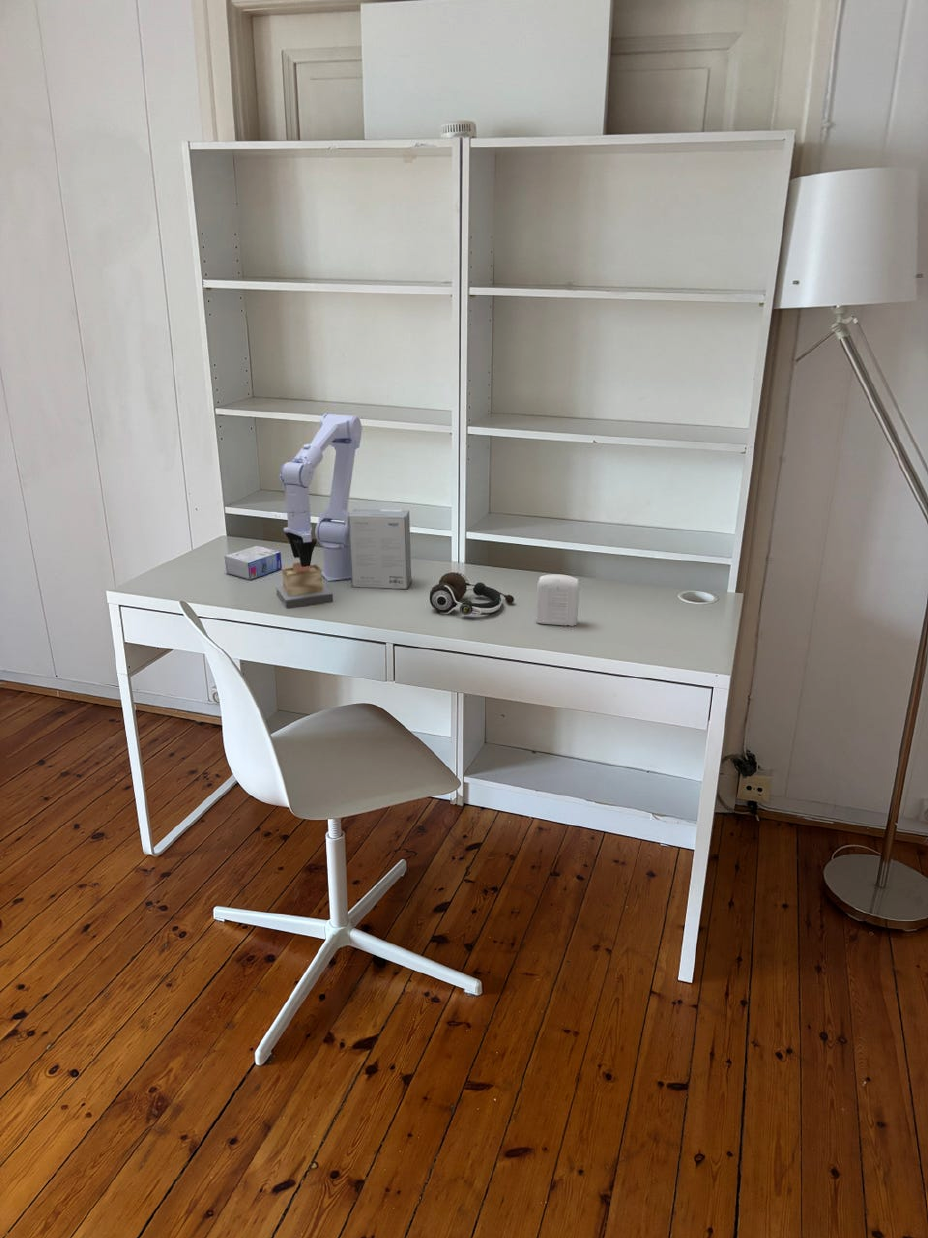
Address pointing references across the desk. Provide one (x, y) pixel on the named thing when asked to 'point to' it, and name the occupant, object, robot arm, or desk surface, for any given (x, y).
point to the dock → (305, 598)
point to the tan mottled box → (302, 581)
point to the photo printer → (557, 600)
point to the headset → (455, 588)
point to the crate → (299, 568)
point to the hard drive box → (380, 548)
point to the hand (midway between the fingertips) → (301, 561)
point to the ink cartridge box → (253, 562)
